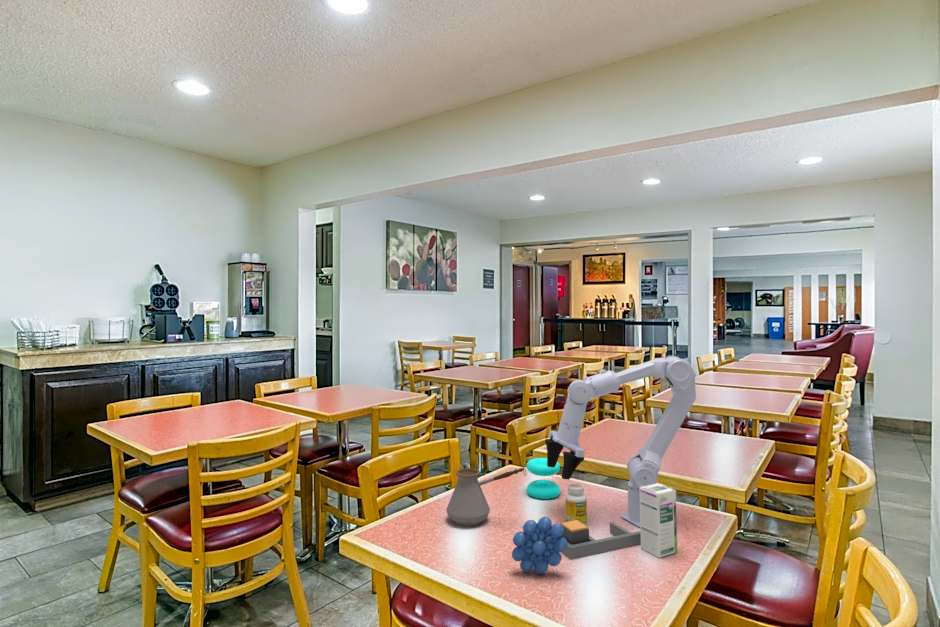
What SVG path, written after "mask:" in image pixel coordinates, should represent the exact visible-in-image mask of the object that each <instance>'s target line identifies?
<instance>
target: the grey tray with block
mask: <svg viewBox="0 0 940 627" xmlns="http://www.w3.org/2000/svg"><path fill="white" fill-rule="evenodd" d="M560 524H561V525H562V526H563V528H564V532H563V534H562V536H561V537H564V538H565V539H566V540H567V543H568V545H567V548H566V550H564V551H563V552H561V553H562V554H563V555H564V556H566V557H567V558H568V559H570V560H574V559H579V558H583V557H589V556H593V555H597V554H601V553H607V552H611V551H615V550H619V549H625V548H628V547H633V546H638V545H639V546H640V545H641V533H640V530H638V531H634V532H631V531H629V530H628V529H626V528H624V527H622V526H621V525H619V524H617V523H616V522H614V521H611V522H609V533H610V534H611V535H613V536H610V537H605V538H600V539H595V538H594V537H592V536H591V535H590V529H589V528H588V526H587V525H584V524H582V523H581V522H579V521H578V520H574V521H569V522H566V521H565V522H561V523H560Z"/></svg>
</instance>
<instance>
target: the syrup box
mask: <svg viewBox="0 0 940 627" xmlns="http://www.w3.org/2000/svg"><path fill="white" fill-rule="evenodd" d="M639 490H640V527H639V528H640V530H639V531H640V533H641V544H640V548H641V549H642V550H643V551H644V552H647V553H648V554H651V555H653V557H656V558H658V559H661V558H662V557H666V556H669V555H673V554H677V553H678V530H677V529H678V528H677V527H678V526H677V525H678V524H677V521H678V520H677V490H676V489H675V488H673V487H671V486H668V485H665V484H663V483H658V482H657V483H656V484H653V485H648V486H644V487H640V488H639Z"/></svg>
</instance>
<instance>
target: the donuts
mask: <svg viewBox="0 0 940 627" xmlns="http://www.w3.org/2000/svg"><path fill="white" fill-rule="evenodd" d="M526 470H527V471H528V472H529V473H531V474H532V475H535V476H539V477H551V476H553V475H554V476H555V475H556V474H558V472H560V470H561V464H560V463H559V461H557V463H556V466H555V467H548V466H547V457H536V458H531V459H529V460H528V461H527V463H526ZM526 492H527V495H529V496H530V497H532V498H535V499H538V498H539V500H550V499H551V498H552V499H555V498H557V497H558V496H559V495H560V493H561V487H560V485H559V484H558V483H556V482H554V481H552V480H549V479H535V480H532V481H530V482H529V483H528V484H527V487H526Z"/></svg>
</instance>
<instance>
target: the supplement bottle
mask: <svg viewBox="0 0 940 627" xmlns="http://www.w3.org/2000/svg"><path fill="white" fill-rule="evenodd" d="M584 491H585V488H584V486H583V485H581V484H578V483H576V484H575V483H573V484H569V485H568V486H567V492H568V493H567V494H566V495H565V522H569V521H574V520H578V521H579V522H581V523H582V524H584V525H585V526H587V523H588V519H587V517H588V514H587V512H588V511H587V509H588V508H587V507H588V506H587V504H588V503H587V502H588V500H587V496H586V494H584V493H585V492H584Z"/></svg>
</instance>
